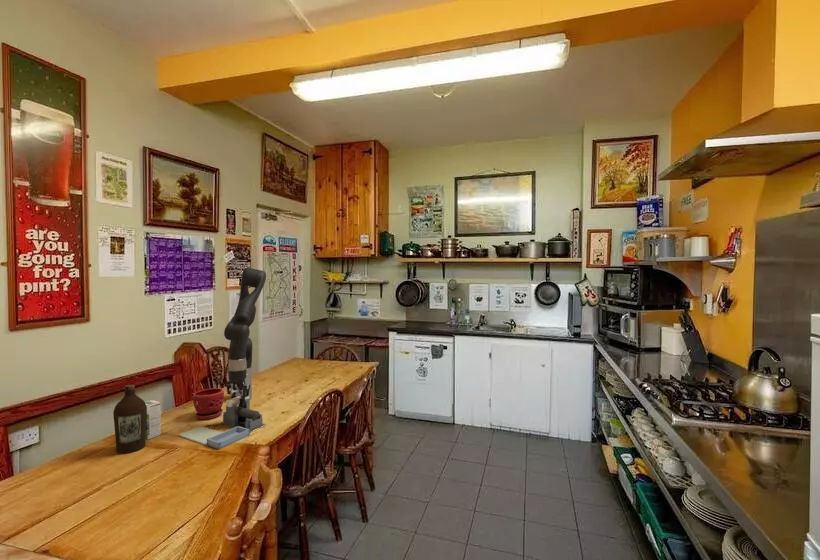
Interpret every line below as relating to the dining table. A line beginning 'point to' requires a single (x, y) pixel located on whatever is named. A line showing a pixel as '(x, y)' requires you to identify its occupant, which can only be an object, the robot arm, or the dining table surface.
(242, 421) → the clamp rack
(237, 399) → the bar
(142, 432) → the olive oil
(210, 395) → the plant pot
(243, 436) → the tray
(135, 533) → the dining table surface
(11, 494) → the dining table surface
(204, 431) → the mat
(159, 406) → the syrup box
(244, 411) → the dark grey cylinder
